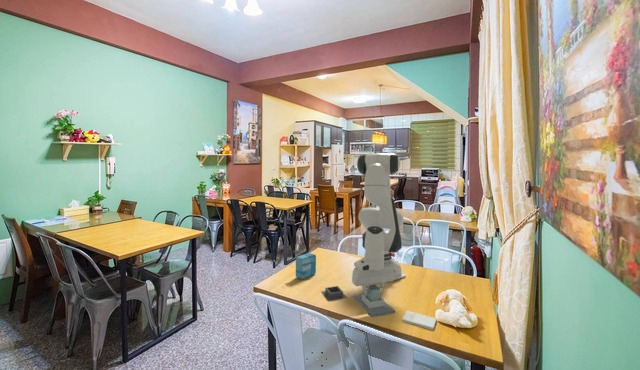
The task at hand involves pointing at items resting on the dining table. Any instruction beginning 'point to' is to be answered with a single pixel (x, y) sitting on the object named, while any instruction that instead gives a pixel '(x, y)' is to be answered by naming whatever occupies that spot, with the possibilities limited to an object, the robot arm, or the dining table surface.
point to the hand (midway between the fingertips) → (373, 292)
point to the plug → (373, 293)
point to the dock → (374, 306)
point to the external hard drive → (419, 320)
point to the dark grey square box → (333, 293)
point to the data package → (305, 265)
